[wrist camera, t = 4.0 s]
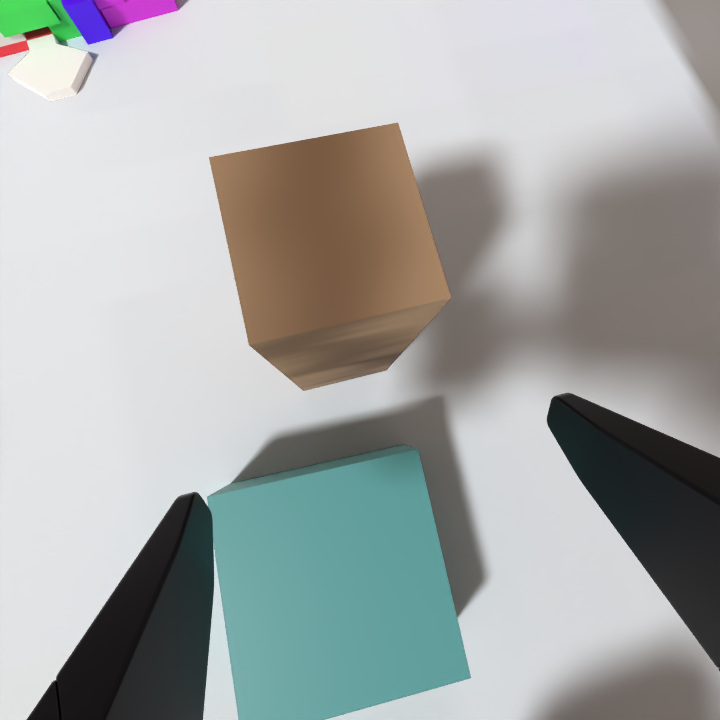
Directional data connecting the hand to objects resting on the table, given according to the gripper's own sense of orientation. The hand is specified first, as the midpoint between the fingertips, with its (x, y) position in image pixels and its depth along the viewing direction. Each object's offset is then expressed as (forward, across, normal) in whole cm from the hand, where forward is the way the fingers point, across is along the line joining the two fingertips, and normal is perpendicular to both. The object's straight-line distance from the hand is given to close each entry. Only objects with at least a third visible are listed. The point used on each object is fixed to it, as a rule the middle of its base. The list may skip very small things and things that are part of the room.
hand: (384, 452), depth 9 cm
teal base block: (+5, +3, +13) cm, 14 cm away
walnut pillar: (+13, 0, +5) cm, 14 cm away
